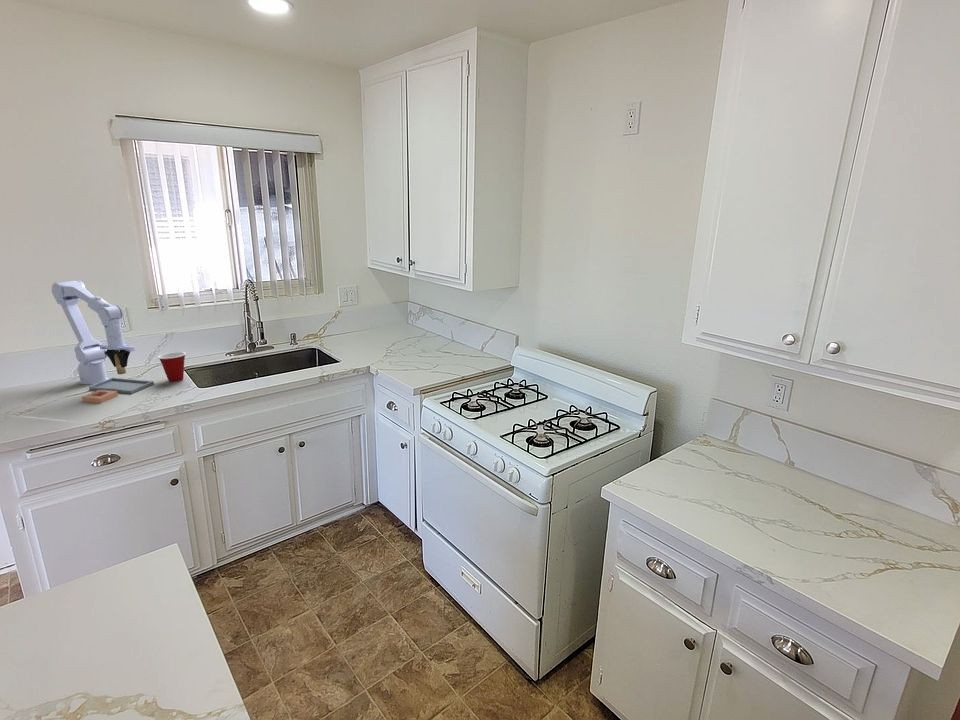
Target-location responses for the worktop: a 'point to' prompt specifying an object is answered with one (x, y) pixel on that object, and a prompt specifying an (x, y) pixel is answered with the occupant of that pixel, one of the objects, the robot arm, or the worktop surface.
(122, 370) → the dowel pin
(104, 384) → the tray
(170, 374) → the plastic cup
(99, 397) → the orange square hole block
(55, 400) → the worktop surface
